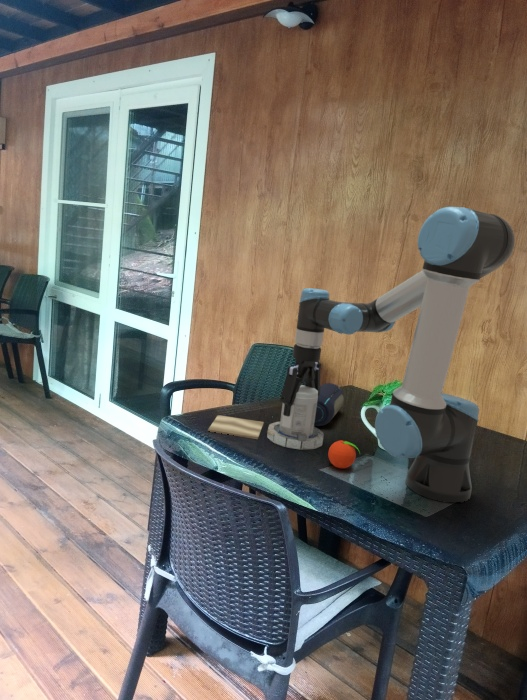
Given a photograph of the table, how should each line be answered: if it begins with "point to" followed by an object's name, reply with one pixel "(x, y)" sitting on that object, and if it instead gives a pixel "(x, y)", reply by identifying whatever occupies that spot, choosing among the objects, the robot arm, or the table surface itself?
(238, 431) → the mat
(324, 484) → the table surface
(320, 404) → the portable speaker
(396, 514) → the table surface
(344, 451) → the clementine
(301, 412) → the supplement tub
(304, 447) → the collar
